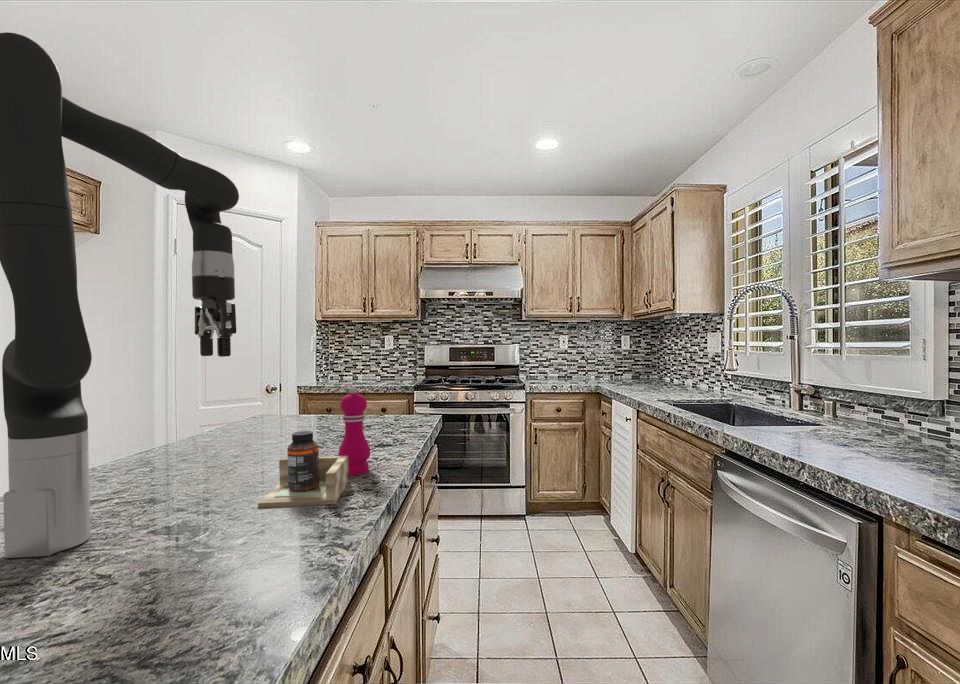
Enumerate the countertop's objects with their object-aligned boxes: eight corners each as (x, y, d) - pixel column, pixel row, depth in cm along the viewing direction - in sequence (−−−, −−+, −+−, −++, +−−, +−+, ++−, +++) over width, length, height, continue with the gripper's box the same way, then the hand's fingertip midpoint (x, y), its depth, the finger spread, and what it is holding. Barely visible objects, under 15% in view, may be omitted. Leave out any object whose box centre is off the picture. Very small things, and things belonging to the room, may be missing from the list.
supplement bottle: (313, 482, 102) (312, 428, 102) (324, 488, 97) (323, 432, 97) (284, 487, 98) (283, 432, 98) (294, 494, 93) (292, 436, 93)
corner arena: (334, 503, 91) (334, 473, 91) (258, 507, 89) (257, 476, 89) (348, 482, 105) (348, 455, 105) (282, 485, 103) (281, 458, 103)
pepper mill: (336, 470, 114) (334, 386, 114) (367, 466, 117) (365, 384, 117) (341, 478, 108) (339, 389, 108) (373, 473, 111) (372, 387, 111)
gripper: (179, 277, 99) (181, 356, 99) (207, 270, 90) (209, 357, 90) (218, 280, 105) (220, 355, 105) (248, 274, 96) (250, 355, 96)
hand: (215, 356), depth 97 cm, fingers open, 8 cm apart
